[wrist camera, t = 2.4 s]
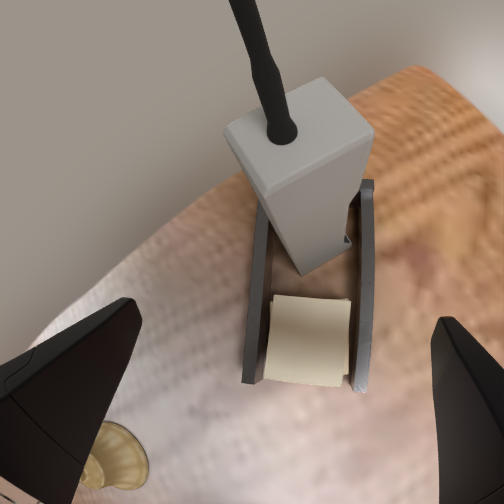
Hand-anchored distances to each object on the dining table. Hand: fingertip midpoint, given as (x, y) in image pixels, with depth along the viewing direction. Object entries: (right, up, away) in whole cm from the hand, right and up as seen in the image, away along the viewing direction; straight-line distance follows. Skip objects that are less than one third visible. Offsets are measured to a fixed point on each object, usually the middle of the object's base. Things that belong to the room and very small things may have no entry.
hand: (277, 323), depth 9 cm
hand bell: (-15, -20, +18) cm, 31 cm away
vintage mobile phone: (+5, +3, +19) cm, 20 cm away
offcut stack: (+4, -5, +17) cm, 18 cm away
